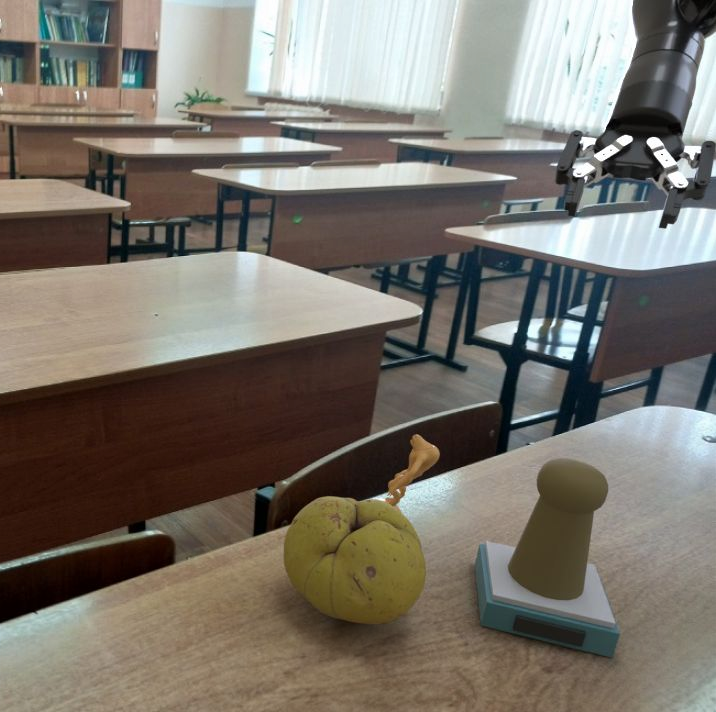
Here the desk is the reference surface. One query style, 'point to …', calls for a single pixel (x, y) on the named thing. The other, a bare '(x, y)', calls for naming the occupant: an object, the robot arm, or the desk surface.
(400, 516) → the fruit
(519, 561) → the cork
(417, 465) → the figurine
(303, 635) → the desk surface
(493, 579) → the scale
